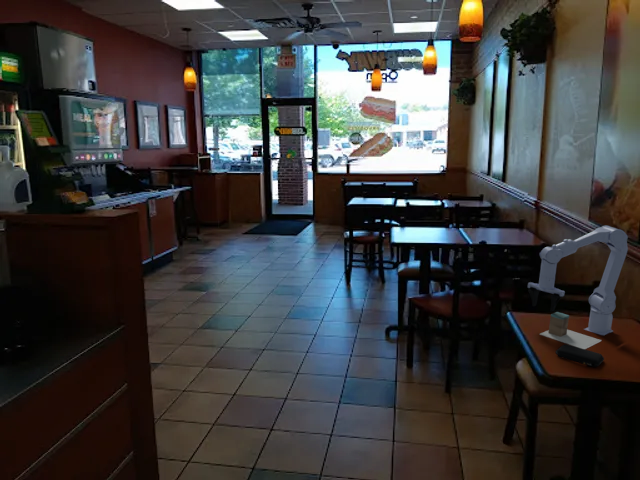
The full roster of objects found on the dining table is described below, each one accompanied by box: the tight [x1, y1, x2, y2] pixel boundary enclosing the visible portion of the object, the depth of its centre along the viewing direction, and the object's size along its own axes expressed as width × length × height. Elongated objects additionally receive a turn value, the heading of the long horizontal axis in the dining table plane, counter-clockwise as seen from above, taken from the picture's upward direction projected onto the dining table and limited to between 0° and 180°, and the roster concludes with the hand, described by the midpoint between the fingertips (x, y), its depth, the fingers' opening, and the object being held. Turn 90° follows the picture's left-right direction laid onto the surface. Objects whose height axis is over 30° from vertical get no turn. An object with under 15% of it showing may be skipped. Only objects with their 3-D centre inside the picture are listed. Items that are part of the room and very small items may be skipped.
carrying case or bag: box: [555, 343, 605, 368], centre depth 184 cm, size 11×3×15 cm
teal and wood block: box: [548, 311, 570, 337], centre depth 205 cm, size 5×5×8 cm
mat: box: [539, 328, 602, 350], centre depth 203 cm, size 15×18×1 cm
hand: (543, 308), depth 209 cm, fingers open, 7 cm apart
